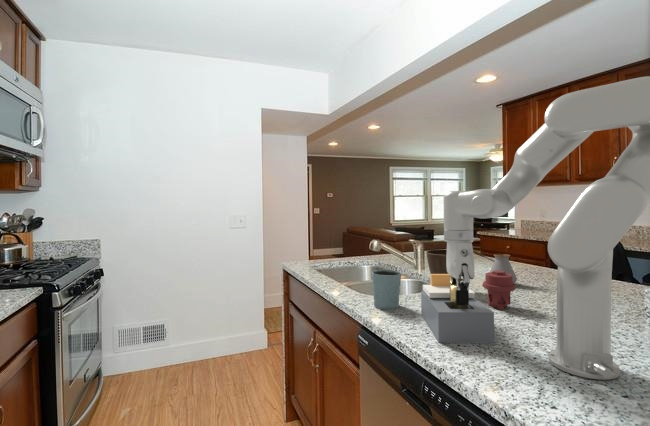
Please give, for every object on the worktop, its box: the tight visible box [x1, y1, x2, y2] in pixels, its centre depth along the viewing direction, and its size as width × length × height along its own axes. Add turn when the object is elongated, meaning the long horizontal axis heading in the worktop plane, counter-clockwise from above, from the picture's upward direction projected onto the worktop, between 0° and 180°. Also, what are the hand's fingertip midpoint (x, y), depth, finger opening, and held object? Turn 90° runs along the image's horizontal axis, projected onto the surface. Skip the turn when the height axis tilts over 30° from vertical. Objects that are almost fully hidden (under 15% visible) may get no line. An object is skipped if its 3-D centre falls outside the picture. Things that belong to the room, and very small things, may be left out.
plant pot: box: [425, 248, 448, 274], centre depth 141 cm, size 15×15×16 cm
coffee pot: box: [473, 249, 518, 284], centre depth 154 cm, size 21×12×15 cm, turn 50°
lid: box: [422, 273, 476, 298], centre depth 106 cm, size 10×13×5 cm
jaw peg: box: [450, 284, 468, 309], centre depth 95 cm, size 4×4×6 cm
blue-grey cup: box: [371, 269, 402, 311], centre depth 123 cm, size 10×10×12 cm
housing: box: [420, 290, 495, 344], centre depth 100 cm, size 22×14×8 cm, turn 176°
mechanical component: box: [482, 270, 516, 311], centre depth 119 cm, size 12×10×10 cm
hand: (458, 301), depth 95 cm, fingers open, 4 cm apart
